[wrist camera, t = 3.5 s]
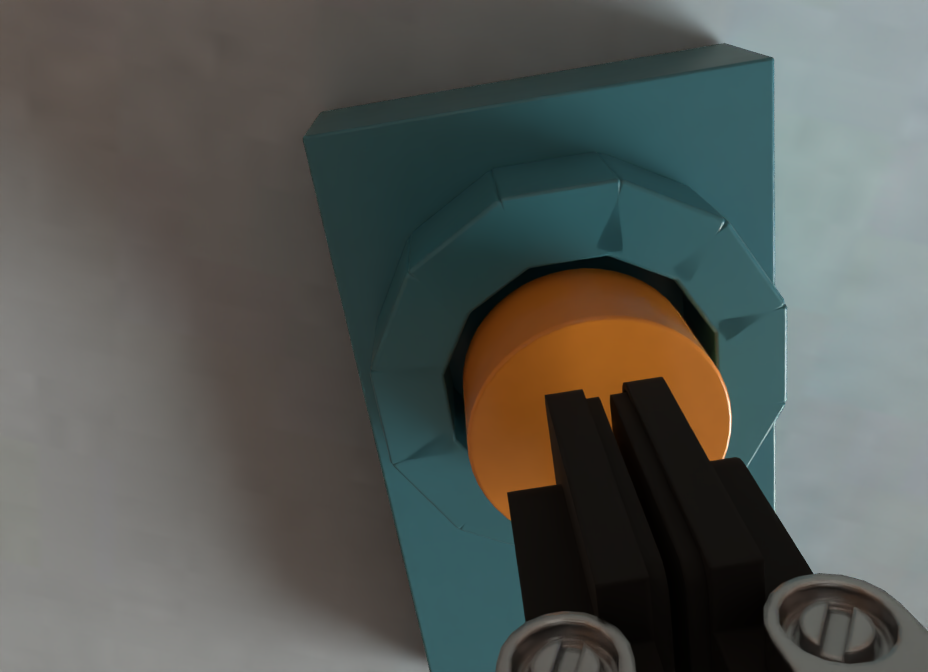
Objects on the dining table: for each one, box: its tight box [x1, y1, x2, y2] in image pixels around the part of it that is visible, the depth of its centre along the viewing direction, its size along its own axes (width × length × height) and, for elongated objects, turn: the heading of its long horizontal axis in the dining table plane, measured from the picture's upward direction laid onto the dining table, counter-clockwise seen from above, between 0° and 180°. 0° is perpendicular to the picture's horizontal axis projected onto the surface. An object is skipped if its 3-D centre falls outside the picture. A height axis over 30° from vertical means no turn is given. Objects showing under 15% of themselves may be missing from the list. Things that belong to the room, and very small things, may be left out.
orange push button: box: [463, 268, 732, 521], centre depth 13 cm, size 4×4×2 cm
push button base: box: [303, 43, 787, 672], centre depth 17 cm, size 15×8×4 cm, turn 9°
